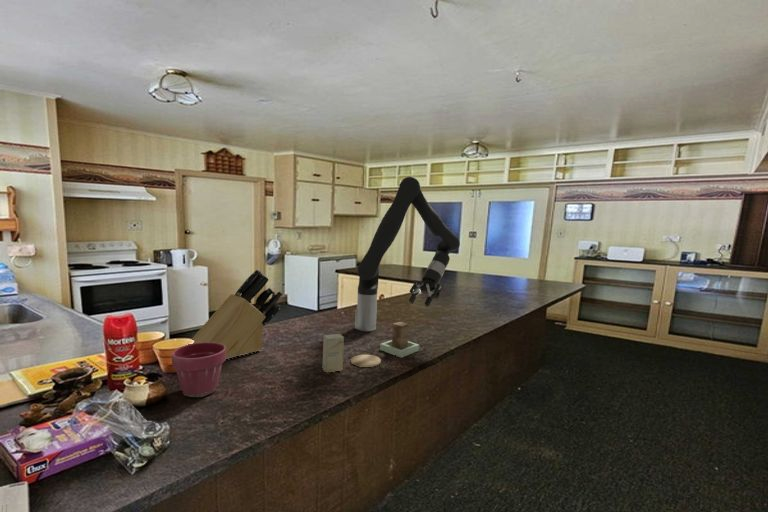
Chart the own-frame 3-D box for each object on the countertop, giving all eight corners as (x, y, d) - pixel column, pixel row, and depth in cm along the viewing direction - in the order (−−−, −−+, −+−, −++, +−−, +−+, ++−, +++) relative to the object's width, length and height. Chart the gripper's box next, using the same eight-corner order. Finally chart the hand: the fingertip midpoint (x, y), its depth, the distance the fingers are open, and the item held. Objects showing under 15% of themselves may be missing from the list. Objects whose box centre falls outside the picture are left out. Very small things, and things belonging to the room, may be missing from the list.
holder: (380, 349, 149) (380, 343, 148) (398, 343, 157) (398, 337, 157) (401, 357, 141) (401, 351, 141) (419, 350, 149) (419, 344, 149)
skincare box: (326, 374, 124) (326, 339, 123) (322, 369, 128) (322, 335, 127) (343, 371, 127) (344, 337, 126) (339, 366, 131) (339, 333, 130)
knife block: (284, 346, 148) (285, 270, 145) (191, 371, 123) (189, 279, 119) (269, 339, 156) (270, 267, 153) (179, 361, 130) (177, 274, 127)
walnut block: (391, 350, 149) (392, 323, 148) (398, 347, 152) (400, 321, 151) (400, 353, 146) (401, 326, 145) (407, 350, 149) (408, 324, 148)
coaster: (345, 364, 133) (345, 362, 133) (359, 354, 143) (359, 352, 143) (373, 370, 129) (373, 368, 129) (385, 359, 139) (385, 357, 139)
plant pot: (207, 376, 119) (207, 338, 118) (236, 388, 112) (236, 347, 111) (162, 393, 107) (161, 351, 105) (191, 408, 100) (190, 362, 98)
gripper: (417, 267, 165) (401, 297, 159) (443, 269, 155) (426, 301, 148) (425, 276, 169) (410, 306, 163) (451, 279, 159) (435, 311, 153)
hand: (418, 304), depth 156 cm, fingers open, 8 cm apart
